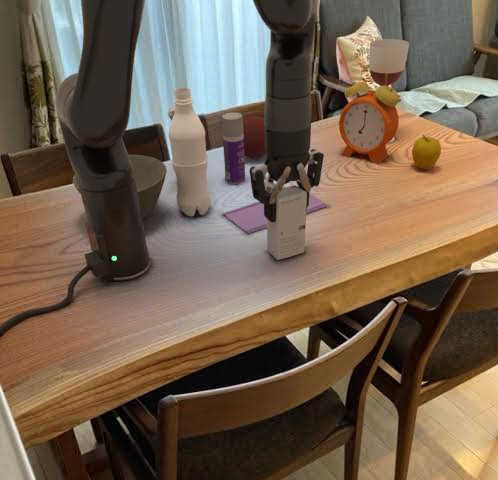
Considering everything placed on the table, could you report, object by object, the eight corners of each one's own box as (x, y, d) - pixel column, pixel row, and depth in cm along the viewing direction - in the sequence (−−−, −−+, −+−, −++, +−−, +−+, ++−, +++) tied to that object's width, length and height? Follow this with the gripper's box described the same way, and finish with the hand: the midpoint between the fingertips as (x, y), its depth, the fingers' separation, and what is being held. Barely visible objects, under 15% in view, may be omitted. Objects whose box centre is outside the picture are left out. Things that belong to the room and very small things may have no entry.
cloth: (247, 234, 108) (247, 232, 107) (222, 214, 114) (222, 213, 114) (326, 206, 116) (326, 205, 115) (298, 190, 122) (299, 188, 122)
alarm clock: (335, 153, 137) (341, 70, 125) (347, 146, 141) (354, 64, 128) (383, 165, 131) (394, 78, 118) (394, 156, 135) (406, 71, 122)
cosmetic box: (277, 261, 99) (278, 201, 92) (266, 250, 102) (265, 191, 95) (306, 252, 101) (308, 192, 94) (293, 241, 104) (295, 183, 97)
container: (243, 185, 125) (240, 119, 116) (223, 183, 126) (219, 119, 116) (247, 176, 129) (244, 112, 119) (228, 175, 129) (224, 111, 120)
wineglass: (401, 134, 146) (414, 40, 132) (387, 146, 140) (400, 50, 125) (369, 128, 150) (379, 37, 136) (354, 140, 144) (363, 46, 129)
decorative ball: (232, 151, 141) (229, 112, 134) (269, 147, 142) (269, 108, 136) (237, 166, 133) (235, 126, 127) (277, 162, 134) (277, 122, 128)
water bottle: (194, 200, 120) (182, 81, 104) (218, 209, 116) (209, 87, 100) (171, 212, 116) (154, 91, 100) (195, 222, 112) (182, 98, 96)
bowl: (89, 200, 122) (79, 157, 115) (173, 194, 122) (167, 151, 116) (76, 243, 107) (64, 197, 101) (171, 235, 108) (165, 189, 102)
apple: (404, 164, 131) (409, 132, 126) (428, 161, 132) (434, 128, 127) (417, 175, 126) (423, 141, 121) (442, 171, 127) (449, 138, 122)
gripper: (309, 106, 92) (306, 196, 102) (237, 124, 86) (241, 218, 97) (337, 118, 87) (331, 212, 97) (263, 138, 81) (264, 235, 92)
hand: (286, 214), depth 97 cm, fingers closed on cosmetic box, 6 cm apart
